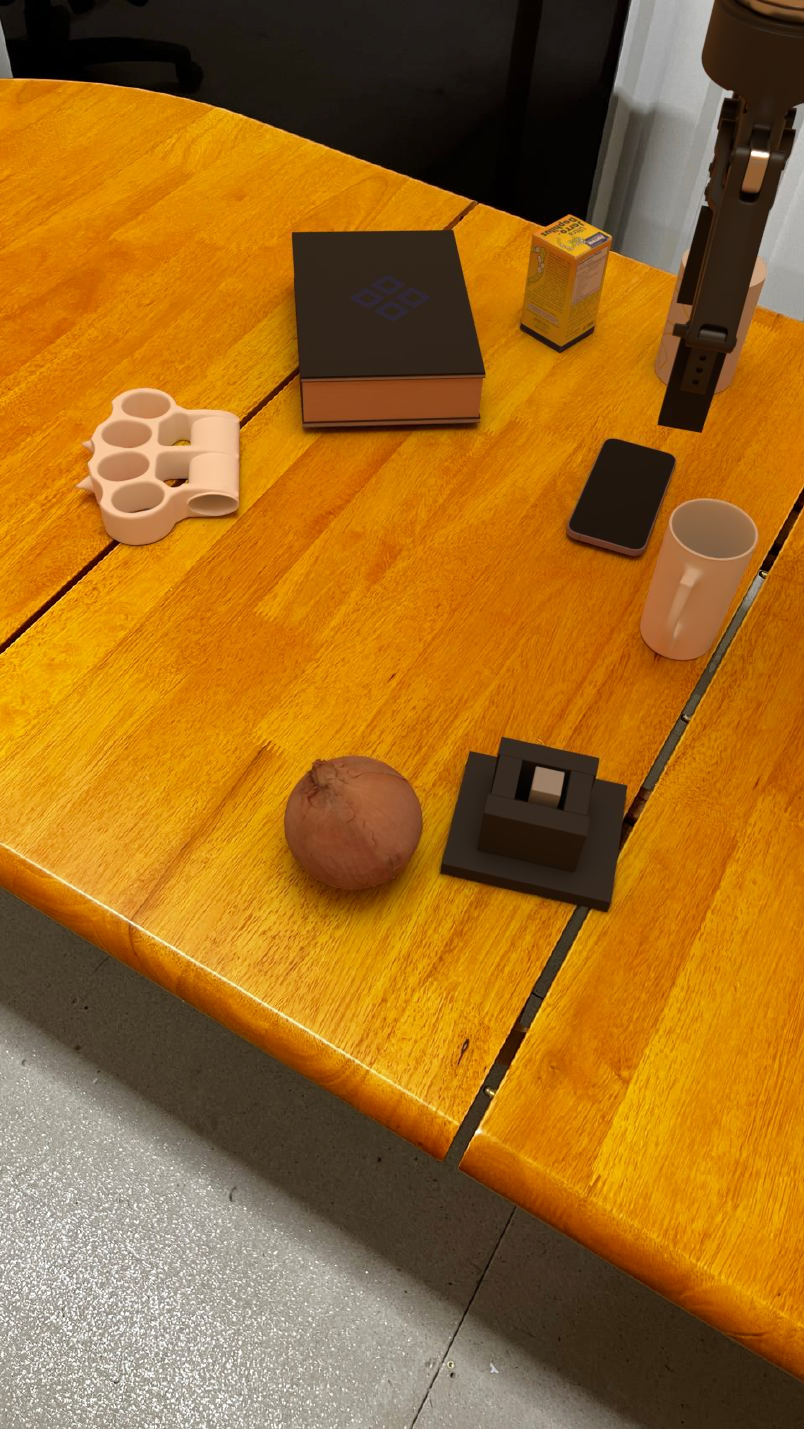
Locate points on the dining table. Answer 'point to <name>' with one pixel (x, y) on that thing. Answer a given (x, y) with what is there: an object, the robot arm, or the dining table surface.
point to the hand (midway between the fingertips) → (688, 361)
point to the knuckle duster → (161, 465)
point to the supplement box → (564, 282)
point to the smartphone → (622, 497)
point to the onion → (353, 822)
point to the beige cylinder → (682, 315)
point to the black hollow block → (537, 806)
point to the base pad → (578, 888)
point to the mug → (696, 576)
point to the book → (384, 329)
